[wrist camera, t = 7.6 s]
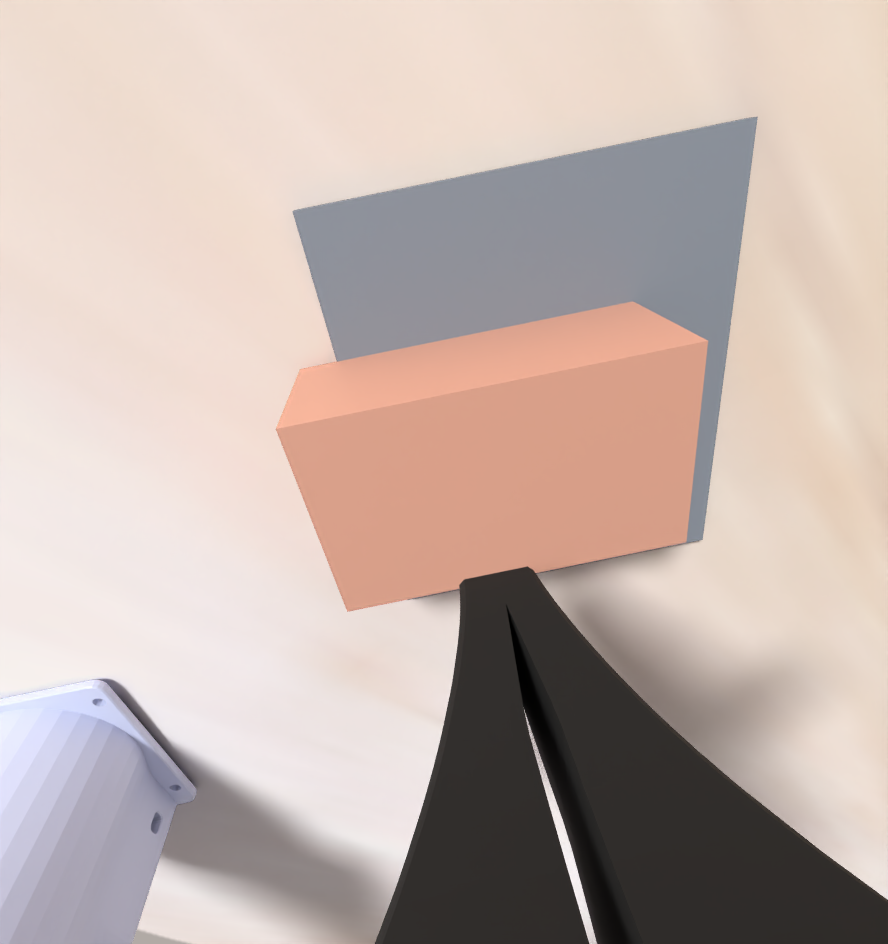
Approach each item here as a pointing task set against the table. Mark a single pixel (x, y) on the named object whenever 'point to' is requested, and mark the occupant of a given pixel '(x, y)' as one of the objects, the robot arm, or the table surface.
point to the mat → (546, 253)
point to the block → (498, 451)
